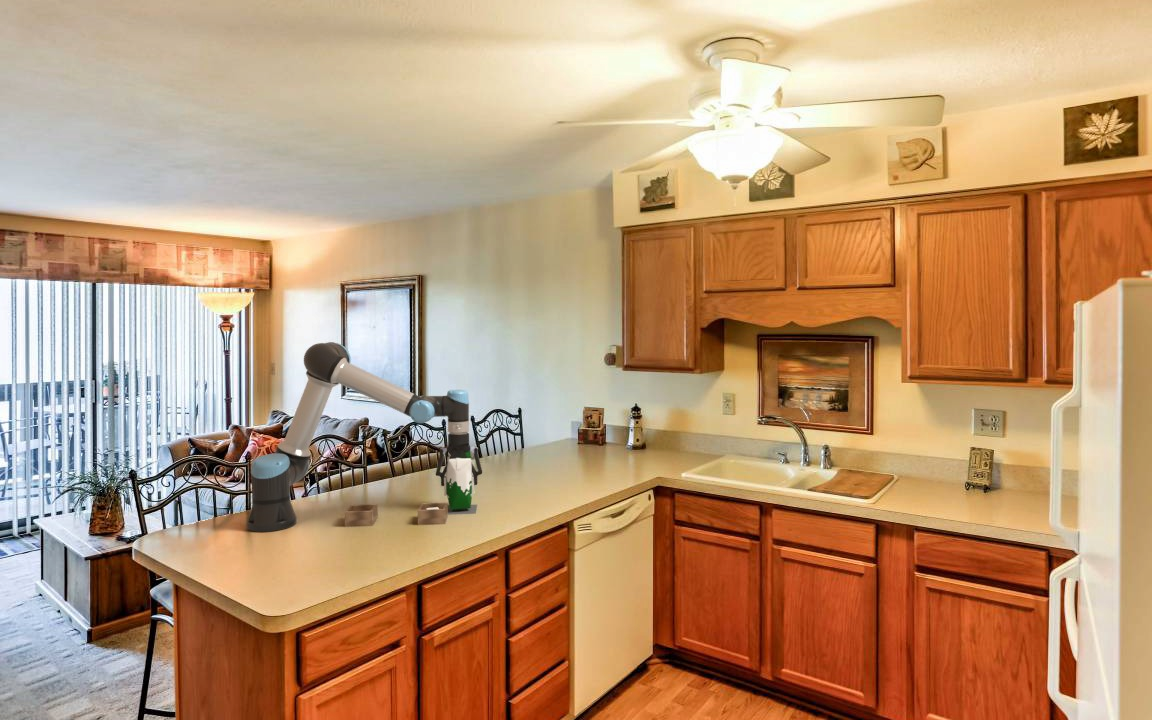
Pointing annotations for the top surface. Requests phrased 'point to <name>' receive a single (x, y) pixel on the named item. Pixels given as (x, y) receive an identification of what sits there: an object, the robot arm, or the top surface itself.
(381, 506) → the top surface
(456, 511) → the coaster
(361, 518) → the crate
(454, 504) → the soya milk
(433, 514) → the crate
